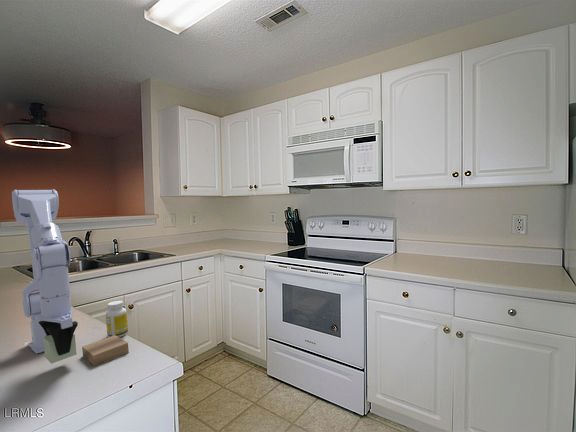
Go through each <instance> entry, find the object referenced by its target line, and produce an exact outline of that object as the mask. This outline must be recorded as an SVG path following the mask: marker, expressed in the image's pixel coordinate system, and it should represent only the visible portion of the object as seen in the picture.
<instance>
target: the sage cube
mask: <svg viewBox="0 0 576 432" xmlns="http://www.w3.org/2000/svg"><path fill="white" fill-rule="evenodd" d="M43 340H44V351H43V352H44V358H45V359H46V360H47V362H49V363H50V364H51V365H52V364H55V363H58V362H60V361H63V360H65V359H68V358H71V357H73V356H77V344H76V334H75V333H74V334H73V337H72V342H71V348H70V352H69V353H66V354H63V355H60V356H59V355H58V353H57V351H56V347H55V343H54V340H53V338H52V336H51V335H48V336H45V337H43Z"/></svg>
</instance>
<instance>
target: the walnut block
mask: <svg viewBox="0 0 576 432" xmlns="http://www.w3.org/2000/svg"><path fill="white" fill-rule="evenodd" d="M81 349H82V357H83V358H84V359H85V360H87V362H89V363H90V364H91V365H92V366H94V367H96V366H99V365H101V364H103V363H106V362H108V361H111V360H114V359H116V358H118V357H120V356H123V355H126V354H128V353H130V352H129V350H130V349H129V342H128V341H126V340H124V339H122V337H118V336H116V335H114V336H111V337H108V336H107V337H106V338H103V339H101V340H98V341H94V342H92V343H89V344H86V345H83V346H81Z"/></svg>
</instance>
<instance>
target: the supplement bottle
mask: <svg viewBox="0 0 576 432" xmlns="http://www.w3.org/2000/svg"><path fill="white" fill-rule="evenodd" d="M107 309H108V310H107V311H106V312H105V321H106V322H105V323H106V324H105V325H106V334H107V335H106V336H107V338H108V337H111V336H114V335H116V336H118V337H119V338H122V337H124V336H126V335H127V334H128V332H129V327H128V326H129V325H128V324H129V323H128V314H127V309H126V308H125V307H124V301H123V300H114V301H111V302H109V303H107Z"/></svg>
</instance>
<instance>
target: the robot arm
mask: <svg viewBox="0 0 576 432" xmlns="http://www.w3.org/2000/svg"><path fill="white" fill-rule="evenodd" d="M11 199H12V200H11V202H12V209H13V213H14V214H13V215H14V218H15V221H16V222H18V223H21V224H24V225H25V228H26V230H27V235H28V241H29V250H30V257H31V266H32V274H33V275H32V277H33V280H32V281H31V282H30V283H29V284H27V285H26V286H25V287H24V288H23V290H22V307H23V314H24V317H26V318H30V332H31V333H30V334H31V341H29V342H28V343H27V345H28V346H29V348H30V349H31V350H32V351H33V352H34V353H35V354H40V353H43V352H45V351H44V340H43V337H45V336H48V335H51V336H52V338H53V340H54V343H55V347H56V351H57V353H58V355H59V356H60V355H63V354H66V353H69V352H70V348H71V342H72V337H73V334H75V331H76V330H77V327H78V323H79V322H78V321H76V320H75V321H73V312H74V311H73V307H72V300H71V299H72V298H71V290H70V289H71V287H70V285H71V284H70V277H69V267H70V264H71V250H70V247H69V245H68V243H67V242H66V240H63V236H62V233H61V230H60V227H59V226H58V225H57V224H55V223H54V222H53V221H54V220H56V219H57V216H58V211H59V206H60V200H59V194H58V191H57V190H56V189H14V190H12V192H11Z"/></svg>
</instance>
